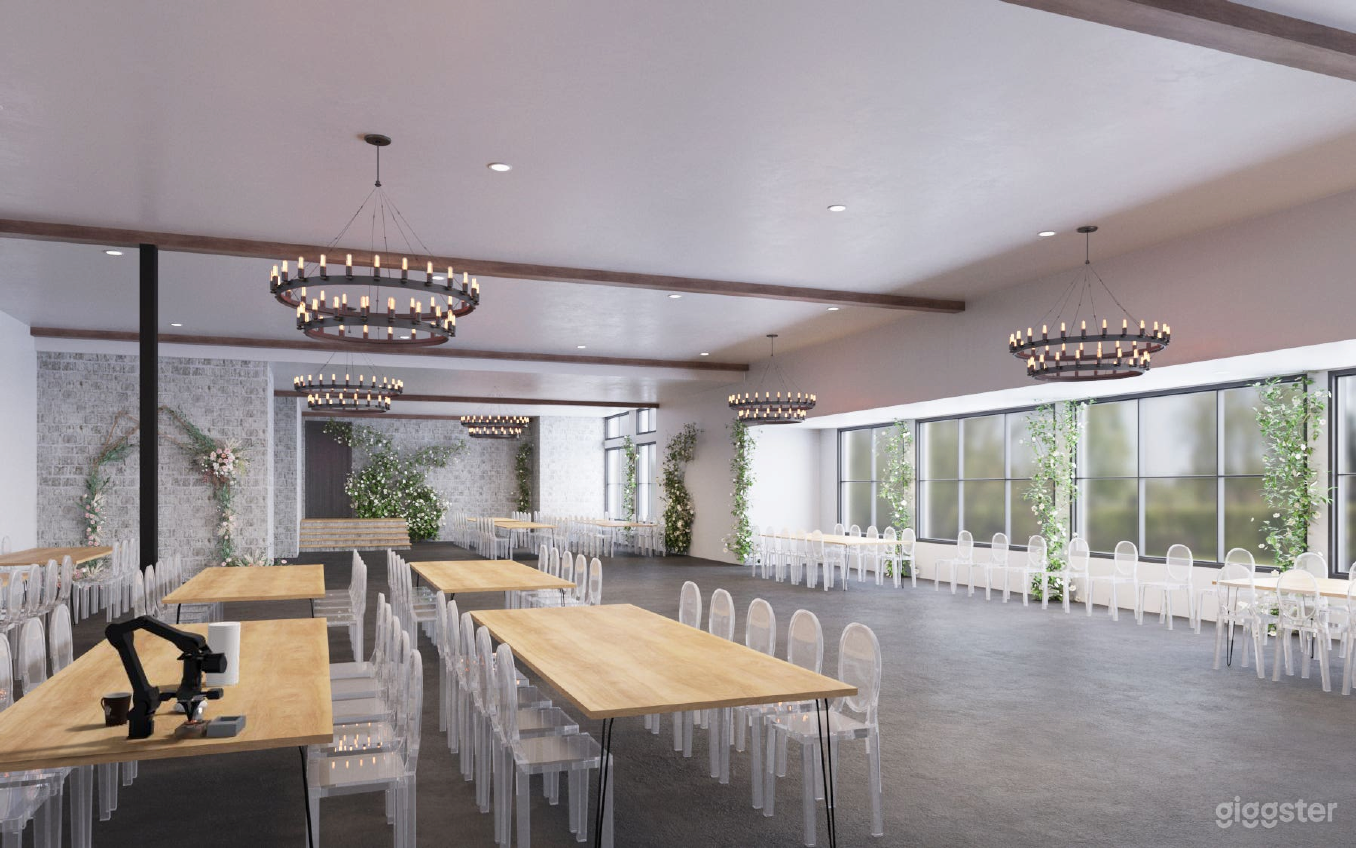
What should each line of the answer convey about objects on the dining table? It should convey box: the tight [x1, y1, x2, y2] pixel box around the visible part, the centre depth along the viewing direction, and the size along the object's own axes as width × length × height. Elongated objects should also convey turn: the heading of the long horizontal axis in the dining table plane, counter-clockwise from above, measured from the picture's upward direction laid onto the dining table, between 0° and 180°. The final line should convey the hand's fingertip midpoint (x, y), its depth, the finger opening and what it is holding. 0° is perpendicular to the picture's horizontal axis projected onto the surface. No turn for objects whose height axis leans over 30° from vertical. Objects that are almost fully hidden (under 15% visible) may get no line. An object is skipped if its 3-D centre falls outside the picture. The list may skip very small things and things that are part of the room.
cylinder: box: [205, 621, 242, 688], centre depth 392 cm, size 12×12×25 cm
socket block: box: [173, 719, 213, 740], centre depth 311 cm, size 8×12×3 cm, turn 11°
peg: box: [193, 706, 204, 725], centre depth 314 cm, size 4×4×8 cm
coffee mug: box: [100, 691, 133, 727], centre depth 324 cm, size 12×9×10 cm
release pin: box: [183, 719, 197, 728], centre depth 308 cm, size 4×4×4 cm
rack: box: [206, 714, 247, 738], centre depth 313 cm, size 9×12×4 cm
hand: (190, 721), depth 308 cm, fingers closed, pressing on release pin
